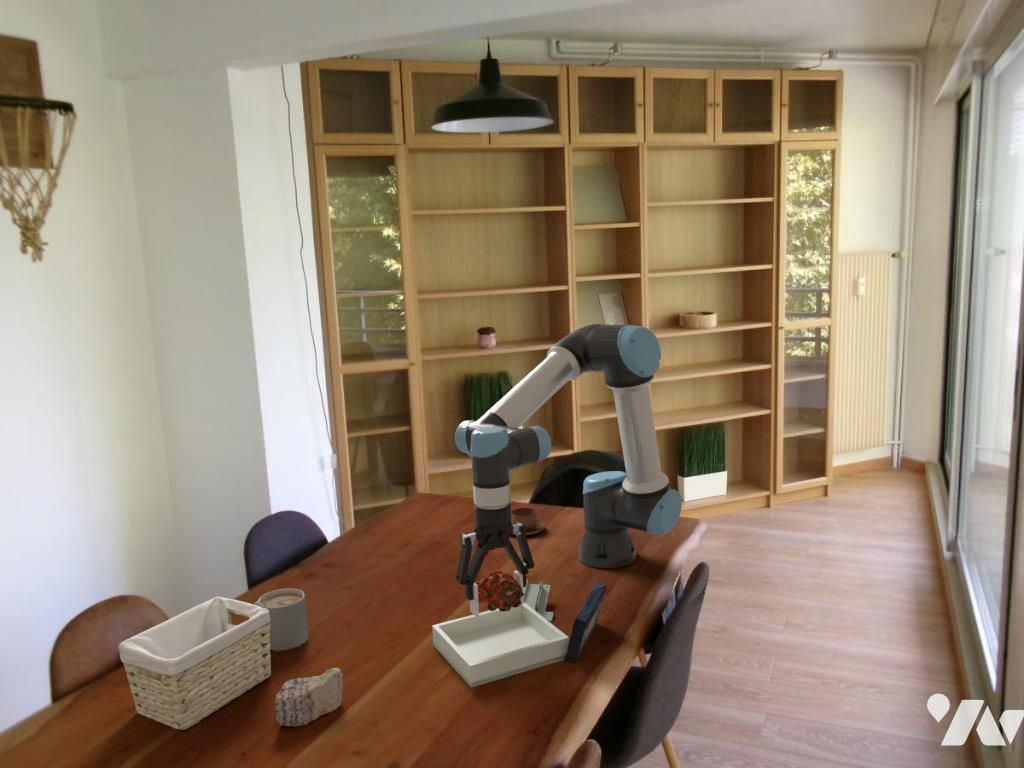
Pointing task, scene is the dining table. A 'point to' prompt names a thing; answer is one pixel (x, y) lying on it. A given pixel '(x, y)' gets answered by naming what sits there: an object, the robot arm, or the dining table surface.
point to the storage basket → (197, 661)
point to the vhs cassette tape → (585, 622)
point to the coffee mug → (286, 617)
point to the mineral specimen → (309, 698)
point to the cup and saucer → (527, 520)
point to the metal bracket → (538, 598)
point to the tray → (499, 644)
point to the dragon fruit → (500, 591)
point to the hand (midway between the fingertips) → (497, 607)
